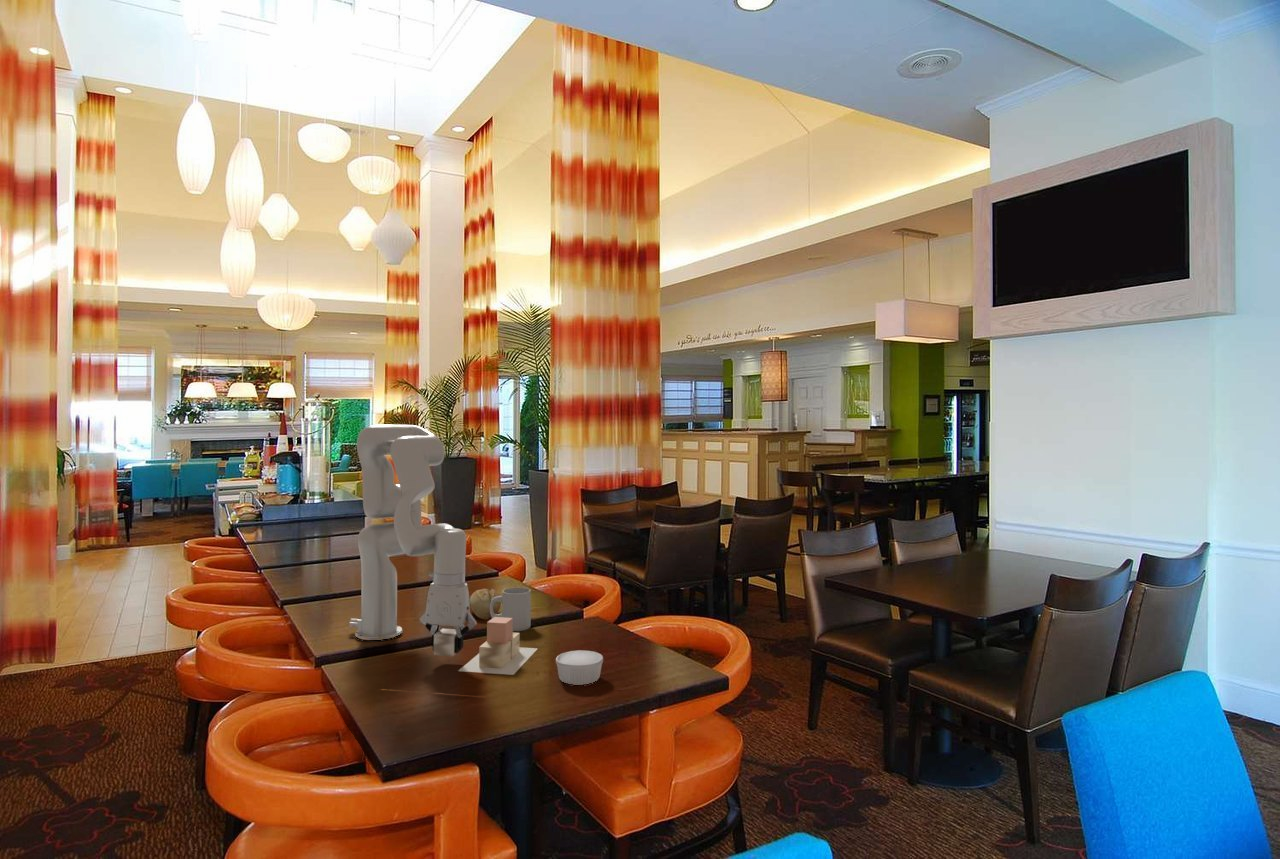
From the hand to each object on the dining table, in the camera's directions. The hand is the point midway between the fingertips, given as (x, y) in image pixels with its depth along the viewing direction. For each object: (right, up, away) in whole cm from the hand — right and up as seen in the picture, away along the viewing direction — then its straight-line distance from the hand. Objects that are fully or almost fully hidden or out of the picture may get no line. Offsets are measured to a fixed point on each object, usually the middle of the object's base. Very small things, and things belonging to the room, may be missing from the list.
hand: (447, 649), depth 176 cm
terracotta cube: (+13, +1, +4) cm, 13 cm away
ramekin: (+34, -5, -9) cm, 35 cm away
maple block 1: (+12, -4, 0) cm, 12 cm away
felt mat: (+13, -4, +4) cm, 14 cm away
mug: (+10, -4, +32) cm, 34 cm away
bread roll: (-1, -4, +47) cm, 47 cm away
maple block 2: (+13, -4, +7) cm, 15 cm away
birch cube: (0, -1, 0) cm, 1 cm away
